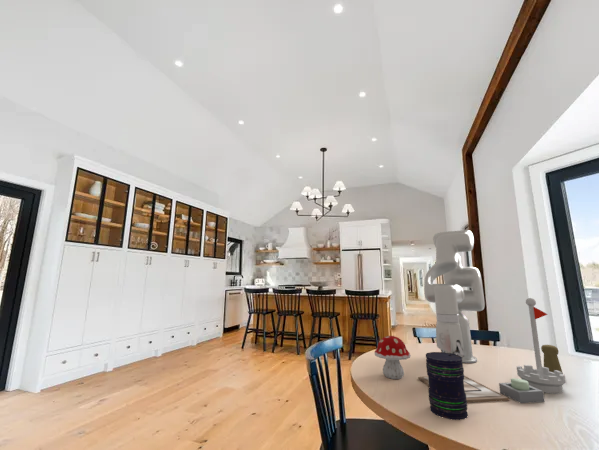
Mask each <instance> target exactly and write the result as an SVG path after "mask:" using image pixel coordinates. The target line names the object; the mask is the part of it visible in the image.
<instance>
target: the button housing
mask: <svg viewBox="0 0 599 450" xmlns="http://www.w3.org/2000/svg"><path fill="white" fill-rule="evenodd" d="M498 386H499V393H500V394H502V395H504V396H506V397H508V398H509V399H512V400H514V401H515V402H517V401H518V402H517V403H519V402H520V404H528V403H529V402H531V403H543V402H544V403H545V396H544V392H543V391H542V390H539V389H537V388H534V387H532V386H530V385H529V390H522V391H519V390H517V389H515V388H512V386H511V382H499V383H498ZM529 404H530V403H529Z"/></svg>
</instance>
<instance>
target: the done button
mask: <svg viewBox="0 0 599 450" xmlns="http://www.w3.org/2000/svg"><path fill="white" fill-rule="evenodd" d="M510 383H511V386H512V388H515V389H517V390H519V391H522V390H529V383H528V381H526V380H522V379H521V378H510Z"/></svg>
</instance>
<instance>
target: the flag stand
mask: <svg viewBox="0 0 599 450" xmlns="http://www.w3.org/2000/svg"><path fill="white" fill-rule="evenodd" d="M525 304H526V305H527V306H528V311H529V319H530V326H531V327H530V329H531V335H532V343H533V351H534V359H535V365H536V366H535V367H536V368H534V367H533V365H530V364H523V366H522V365H517V366H516V373H517V376H518V377H520V378H519V379H522V380H526V381H528V383H529V385H530V386H532V387H534V388H537V389H539V390H542V391H543V393H547V394H562V393H563V392H564V389H563V385H565V384H566V383H567V382H566V376H565V374H564V373H562V372H563V371H562V372H560V371H558V370H554V373H553V372H549V368H546V367H544V366H543V365H542V364H543V363H542V359H541V358H542V356H541V351H540V349H541V347H540V340H539V335H538V329H537V320H538V319H540V318H542V317H545V316H547V315H548V313H546V312H544V311H542V310H540V309H538V308H537V307H535V306H536V305H537V302H536V300H535V299H534V298H531V297H528V298H526V299H525Z"/></svg>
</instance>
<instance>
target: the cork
mask: <svg viewBox="0 0 599 450" xmlns="http://www.w3.org/2000/svg"><path fill="white" fill-rule="evenodd" d="M540 349H541V352H542V353H543V367H546V368H549V372H553V373H554V370H558V371H560V372H562V373H563V369H562V366H561V363H560V359H559V349H558V347H557V346H556V345H552V344H542V345H541V347H540ZM563 374H564V373H563Z"/></svg>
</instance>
